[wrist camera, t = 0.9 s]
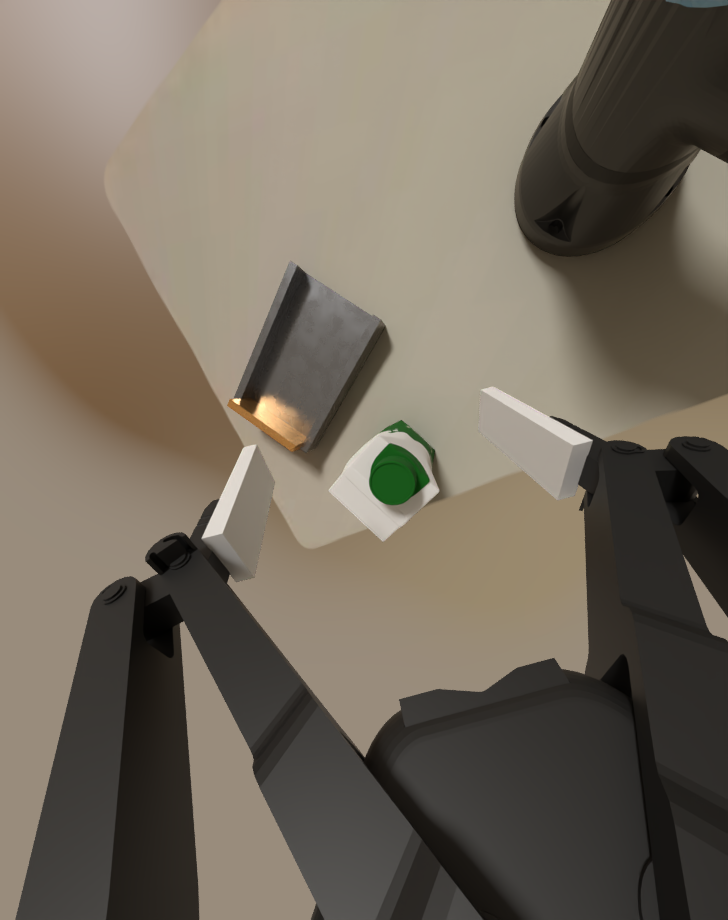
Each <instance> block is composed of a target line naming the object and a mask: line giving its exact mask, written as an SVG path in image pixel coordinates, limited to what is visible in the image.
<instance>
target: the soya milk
mask: <svg viewBox="0 0 728 920" xmlns="http://www.w3.org/2000/svg"><path fill="white" fill-rule="evenodd" d="M434 453H435V450H434V449H433V448H432V447H431V446H430V445H429V444H428V443H427V442H426V441H425V440H424V439H423V438H422V437H421V436H420V435H419V434H417V433H416V432H415V431H414V430H413V429H412V428H410V427H409V426H408V425H407V424H406V423H405V422H403V421H402V420H401V421H399V422H397V423H395V424H393V425H391V426H389V427H387V428H385V429H384V430H383V431H381V432H380V433H379V434H377V435H376V436H375V437H373V438H372V439H371V440H370V441H369V442H367V443H366V444H365V445H364V446H362V447H361V448H360V449H359V450H358V451H357V452H356V453H355V454H354V455H353V457H352V458H351V459H350V460H349V461H348V462H347V464H346V466H345V468H344V471H343V472H342V474H341V475H340V476H339V478H338V479H337V480H336V481H335V483H334V484H333V485H332V487H331V488H330V489H329V492H330V493H331V494H332V495H333V496H334V497H335V498H336V499H337V500H338V501H340V502H341V503H342V504H343V505H344V506H345V507H346V508H347V509H348V510H349V511H350V512H351V513H352V514H353V515H355V516H356V517H357V518H358V519H359V520H360V521H361V522H362V523H363V524H364V525H365V526H366V527H367V528H369V529H370V530H371V531H372V532H373V533H374V534H375V535H376V536H377V537H378V538H379V539H380V540H381V541H385V540H386V539H387V538H388V537H389V536H390V535H391V534H393V533H394V532H395V531H396V530H397V529H398V528H399V527H402V526H403V525H405V524H406V523H407V522H408V521H409V520H410V519H411V518H412V517H413V516H414V515H415V514H416V513H417V512H418V511H419V510H420V509H422V508H423V507H424V506H425V505H426V504H427V503H428V502H429V501H430V500H431V499H432V498H433V497H435V496H436V495H437V494H438V493H439V488H438V486H437V483H436V481H435V478H434V476H433V474H432V464H433V459H434Z"/></svg>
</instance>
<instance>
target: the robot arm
mask: <svg viewBox="0 0 728 920" xmlns="http://www.w3.org/2000/svg"><path fill="white" fill-rule="evenodd" d="M701 149H702V150H704V151H706V152H708V153H709V154H711V155H713V156H715V157H717V158H719V159H721V160H723V161H724V162H726V163H728V0H611V2H610V4H609V6H608V8H607V11H606V13H605V15H604V17H603V20H602V22H601V24H600V26H599V29H598V31H597V33H596V35H595V38H594V40H593V42H592V44H591V47H590V49H589V51H588V53H587V56H586V58H585V60H584V62H583V65H582V67H581V69H580V71H579V73H578V75H577V76H576V77H575V78H574V80H573V81H572V82H571V83H570V85H569V86H568V87H567V88H566V90H565V91H564V93H563V94H562V95H561V96H560V97H559V98H558V100H557V101H556V102H555V103H554V104H553V106H552V107H551V108H550V109H549V111H548V112H547V113H546V115H545V116H544V118H543V119H542V120H541V122H540V124H539V125H538V127H537V129H536V131H535V132H534V134H533V136H532V138H531V140H530V142H529V145H528V147H527V149H526V152H525V155H524V157H523V160H522V163H521V165H520V168H519V172H518V175H517V180H516V185H515V199H514V200H515V211H516V215H517V219H518V222H519V224H520V227H521V229H522V230H523V232H524V234H525V235H526V236H527V238H528V239H529V240H530V241H531V242H532V243H533V244H535V245H536V246H537V247H539V248H540V249H542V250H544V251H546V252H549V253H552V254H556V255H561V256H579V255H585V254H590V253H593V252H596V251H599V250H602V249H604V248H607V247H609V246H611V245H613V244H614V243H616V242H618V241H620V240H621V239H623V238H624V237H626V236H627V235H628V234H630V233H631V232H632V231H634V230H635V229H636V228H637V227H638V226H640V225H641V224H642V223H643V222H645V221H646V220H647V219H648V218H649V217H650V216H652V215H653V214H654V213H655V212H656V211H657V210H658V209H659V208H660V207H661V206H662V204H663V203H664V202H665V201H666V200H667V199H668V198H669V196H670V195H671V194H672V193H673V191H674V190H675V188H676V187H677V186H678V184H679V182H680V181H681V179H682V178H683V176H684V174H685V173H686V171H687V169H688V167H689V165H690V163H691V162H692V161H693V160H694V159H695V157H696V156H697V154H698V153H699V151H700V150H701ZM478 432H479V433H481V434H482V435H483V436H484V437H485V438H486V439H487V440H489V441H490V442H491V443H492V444H493V445H494V446H496V447H497V448H498V449H499V450H500V451H501V452H502V453H504V454H505V455H506V456H507V457H508V458H509V459H510V460H512V461H513V462H514V463H515V464H516V465H517V466H519V467H520V468H521V469H522V470H523V471H524V472H526V473H527V474H528V475H529V476H530V477H531V478H532V479H534V480H535V481H536V482H537V483H538V484H539V485H540V486H542V487H543V488H544V489H545V490H546V491H547V492H548V493H550V494H551V495H552V496H553V497H554V498H555V499H557V500H561V499H565V498H569V497H573V496H575V493H576V490H577V487H578V484H579V485H580V486H581V487H583V488H584V489H585V490H586V492H585V495H584V498H583V500H582V503H581V506H580V509H579V510H581V511H582V510H583V508H584V521H585V549H586V550H585V551H586V580H587V610H588V639H589V654H588V661H587V665H586V670H585V674H582V673H578V672H574V671H570V670H564V669H561V668H560V666H559V665H558V663H557V662H556V660H555V659H554V658H552V659H548V660H545V661H541V662H537V663H533V664H530V665H526V666H522V667H518V668H516V669H515V670H513V671H512V672H510V673H509V674H508V675H506V676H505V677H503V678H502V679H501V680H499V681H498V682H497V683H495V684H494V685H492V686H491V687H490V688H488V689H487V690H485V691H483V692H470V691H456V690H442V689H436V690H433V691H429V692H425V693H421V694H418V695H414V696H410V697H406V698H403V699H399V701H400V706H401V710H400V711H399V712H397V713H396V714H394V715H393V716H392V717H391V718H390V719H389V720H388V721H387V722H386V723H385V724H384V726H383V727H382V728H381V730H380V731H379V732H378V734H377V735H376V737H375V739H374V740H373V742H372V744H371V746H370V748H369V750H368V753H367V754H366V757H364V756H363V755H362V753H361V752H360V751H359V750H358V748H357V747H356V746H355V744H354V743H353V742H352V741H351V739H350V738H349V737H348V736H347V734H346V733H345V732H344V731H343V730H342V729H341V727H340V726H339V725H338V723H337V722H336V721H335V720H334V718H333V717H332V716H331V715H330V713H329V712H328V711H327V710H326V708H325V707H324V706H323V705H322V703H321V702H320V701H319V699H318V698H317V697H316V696H315V695H314V693H313V692H312V691H311V690H310V688H309V687H308V686H307V684H306V683H305V682H304V680H303V679H302V678H301V677H300V675H299V674H298V673H297V672H296V671H295V669H294V668H293V666H292V665H291V664H290V663H289V661H288V660H287V659H286V658H285V656H284V655H283V654H282V652H281V651H280V650H279V649H278V648H277V646H276V645H275V644H274V642H273V641H272V640H271V638H270V637H269V636H268V635H267V633H266V632H265V631H264V630H263V628H262V627H261V626H260V625H259V623H258V622H257V621H256V620H255V618H254V617H253V616H252V614H251V613H250V612H249V611H248V609H247V608H246V607H245V606H244V604H243V603H242V602H241V601H240V599H239V598H238V597H237V595H236V594H235V593H234V592H233V590H232V589H231V588H230V587H229V585H228V584H227V581H228V578H229V575H231V576H232V578H233V579H234V580H235V581H236V582H239V581H243V580H247V579H251V578H254V577H255V573H256V568H257V563H258V559H259V554H260V550H261V545H262V540H263V535H264V531H265V526H266V522H267V517H268V512H269V508H270V503H271V498H272V494H273V489H274V484H275V481H274V479H273V477H272V474H271V472H270V470H269V468H268V466H267V464H266V462H265V460H264V458H263V456H262V454H261V452H260V450H259V448H258V446H257V444H256V445H252V446H248V447H244V448H243V450H242V452H241V454H240V456H239V458H238V461H237V463H236V465H235V467H234V469H233V471H232V474H231V476H230V478H229V480H228V482H227V484H226V487H225V489H224V491H223V493H222V495H221V497H220V499H218V500H214V501H212V502H211V503H210V504H209V505H208V506H207V507H206V508H205V510H204V512H203V514H202V516H201V519H200V520H199V522H198V524H197V526H196V528H195V529H194V531H193V533H192V535H191V537H190V539H189V538H188V537H187V535H186V534H184V533H182V532H181V533H174V534H171V535H168V536H166V537H164V538H163V539H161V540H160V541H159V542H157V543H156V544H154V545H153V547H152V548H151V549H150V550H149V551H148V553H147V555H146V557H145V560H146V562H147V563H148V564H149V565H150V566H151V567H152V568H153V569H154V570H155V571H156V572H157V573H158V574H157V575H155V576H152V577H150V578H148V579H147V580H144V581H142V582H139V581H138V580H137V579H135V578H134V577H131V576H130V577H124V578H122V579H119V580H117V581H115V582H114V583H112V584H111V585H109V586H108V587H106V588H105V589H104V590H103V591H102V592H101V593H100V594H99V595H98V596H97V597H96V599H95V600H94V602H93V604H92V606H91V609H90V613H89V617H88V621H87V625H86V629H85V634H84V638H83V642H82V646H81V650H80V654H79V658H78V663H77V667H76V671H75V675H74V679H73V684H72V687H71V692H70V696H69V700H68V704H67V708H66V713H65V717H64V721H63V725H62V729H61V733H60V737H59V741H58V745H57V750H56V754H55V759H54V762H53V767H52V770H51V775H50V779H49V783H48V787H47V791H46V795H45V799H44V804H43V808H42V812H41V816H40V820H39V824H38V828H37V832H36V837H35V841H34V845H33V849H32V853H31V857H30V861H29V866H28V870H27V874H26V878H25V883H24V887H23V891H22V895H21V899H20V903H19V907H18V911H17V915H16V920H199V898H198V897H199V896H198V877H197V862H196V848H195V834H194V820H193V806H192V793H191V778H190V764H189V750H188V737H187V722H186V708H185V695H184V680H183V666H182V651H181V638H180V623H181V622H183V621H184V622H185V624H186V626H187V628H188V630H189V632H190V634H191V636H192V638H193V640H194V641H195V643H196V645H197V647H198V649H199V651H200V653H201V655H202V657H203V659H204V661H205V663H206V665H207V667H208V669H209V671H210V672H211V674H212V676H213V678H214V680H215V682H216V684H217V686H218V688H219V690H220V692H221V694H222V696H223V698H224V700H225V702H226V703H227V705H228V707H229V709H230V711H231V713H232V715H233V717H234V719H235V721H236V723H237V725H238V727H239V729H240V731H241V733H242V735H243V736H244V738H245V740H246V742H247V744H248V746H249V748H250V750H251V752H252V755H253V758H254V762H253V771H254V775H255V778H256V780H257V783H258V785H259V787H260V790H261V792H262V794H263V796H264V797H265V800H266V802H267V804H268V806H269V808H270V810H271V812H272V814H273V816H274V818H275V820H276V822H277V824H278V826H279V828H280V830H281V832H282V834H283V836H284V838H285V840H286V842H287V844H288V846H289V848H290V850H291V852H292V855H293V856H294V858H295V861H296V863H297V865H298V867H299V869H300V871H301V873H302V875H303V877H304V879H305V881H306V883H307V885H308V887H309V889H310V891H311V893H312V895H313V897H314V899H315V901H316V906H315V909H314V912H313V915H312V918H311V920H728V641H727V640H726V639H723V638H720V637H717V636H714V635H712V634H711V633H710V632H709V630H708V628H707V626H706V623H705V620H704V617H703V614H702V611H701V608H700V605H699V602H698V599H697V596H696V593H695V590H694V587H693V584H692V581H691V578H690V575H689V572H688V569H687V566H686V563H685V560H684V557H685V558H686V559H687V561H688V562H689V563H690V565H691V566H692V568H693V569H694V570H695V572H696V573H697V575H698V576H699V577H700V579H701V580H702V582H703V583H704V584H705V586H706V587H707V589H708V590H709V592H710V593H711V594H712V596H713V597H714V599H715V600H716V601H717V603H718V604H719V606H720V607H721V608H722V610H723V611H724V613H725V614H726V616H727V617H728V450H727V449H726V448H724V447H723V446H721V445H720V444H718V443H716V442H713V441H710V440H707V439H705V438H699V437H687V436H684V437H676V438H673V439H671V440H670V442H669V444H668V446H667V448H666V449H658V450H647V449H646V448H644V447H643V446H641V445H639V444H636V443H632V442H627V441H617V440H616V441H615V440H614V441H608V442H606V441H604V440H602V439H600V438H598V437H596V436H594V435H593V434H591V433H589V432H587V431H585V430H583V429H580V428H579V427H577V426H575V425H573V424H571V423H569V422H568V421H566V420H564V419H560V418H556V417H553V416H550V417H549V416H547V415H545V414H543V413H541V412H539V411H537V410H536V409H534V408H532V407H530V406H528V405H526V404H525V403H523V402H521V401H519V400H517V399H515V398H513V397H512V396H510V395H508V394H506V393H504V392H502V391H501V390H499V389H497V388H495V387H489V388H485V389H481V390H480V407H479V427H478ZM697 494H698V495H699V496H698V498H697V497H696V495H697ZM683 555H684V557H683Z"/></svg>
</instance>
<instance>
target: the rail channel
mask: <svg viewBox="0 0 728 920" xmlns="http://www.w3.org/2000/svg"><path fill="white" fill-rule="evenodd" d="M384 328H385V324H384V323H383V322H382V320H381V319H379V318H378V317H376V316H375V315H373V316H371V315H370V314H368V313H367V312H365V311H363V310H362V309H360V308H359V307H357V306H356V305H354V304H353V303H351V302H350V301H348V300H347V299H345V298H343V297H342V296H340V295H339V294H337V293H336V292H334V291H333V290H331V289H330V288H328V287H327V286H325V285H323V284H322V283H320V282H319V281H317V280H316V279H314V278H313V277H311V276H310V275H308V274H307V273H305V272H304V271H303V270H302V269H301V268H300V267H299V266H298V265H296V264H295V263H293V262H292V261H290V262H289V264H288V267H287V269H286V272H285V274H284V277H283V279H282V282H281V284H280V286H279V289H278V291H277V294H276V296H275V299H274V301H273V304H272V306H271V308H270V311H269V313H268V316H267V318H266V321H265V323H264V326H263V328H262V330H261V333H260V335H259V338H258V340H257V343H256V345H255V348H254V350H253V352H252V355H251V357H250V360H249V362H248V365H247V367H246V370H245V372H244V374H243V377H242V379H241V382H240V384H239V387H238V389H237V392H236V394H235V396H234V399H230V400H229V403H228V405H227V406H228V407H230V408H231V409H233V410H234V411H235V412H237V413H238V414H240V415H241V416H242V417H244V418H245V419H247V420H248V421H249V422H251V423H252V424H254V425H255V426H256V427H258V428H259V429H261V430H262V431H263V432H265V433H266V434H268V435H269V436H270V437H272V438H273V439H275V440H276V441H277V442H279V443H280V444H282V445H283V446H284V447H286V448H287V449H289V450H290V451H291V452H293V451H296V450H298V449H301V450H303V451H304V452H305V453H307V452H309V451H311V450H313V449H315V448H316V447H317V445H318V443H319V441H320V440H321V438H322V436H323V434H324V433H325V431H326V429H327V427H328V426H329V424H330V422H331V420H332V419H333V417H334V415H335V413H336V412H337V410H338V408H339V406H340V405H341V403H342V401H343V399H344V398H345V396H346V394H347V392H348V391H349V389H350V387H351V385H352V384H353V382H354V380H355V378H356V377H357V375H358V373H359V371H360V370H361V368H362V366H363V364H364V363H365V361H366V359H367V357H368V356H369V354H370V352H371V350H372V349H373V347H374V345H375V343H376V342H377V340H378V338H379V336H380V335H381V333H382V331H383V329H384Z"/></svg>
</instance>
